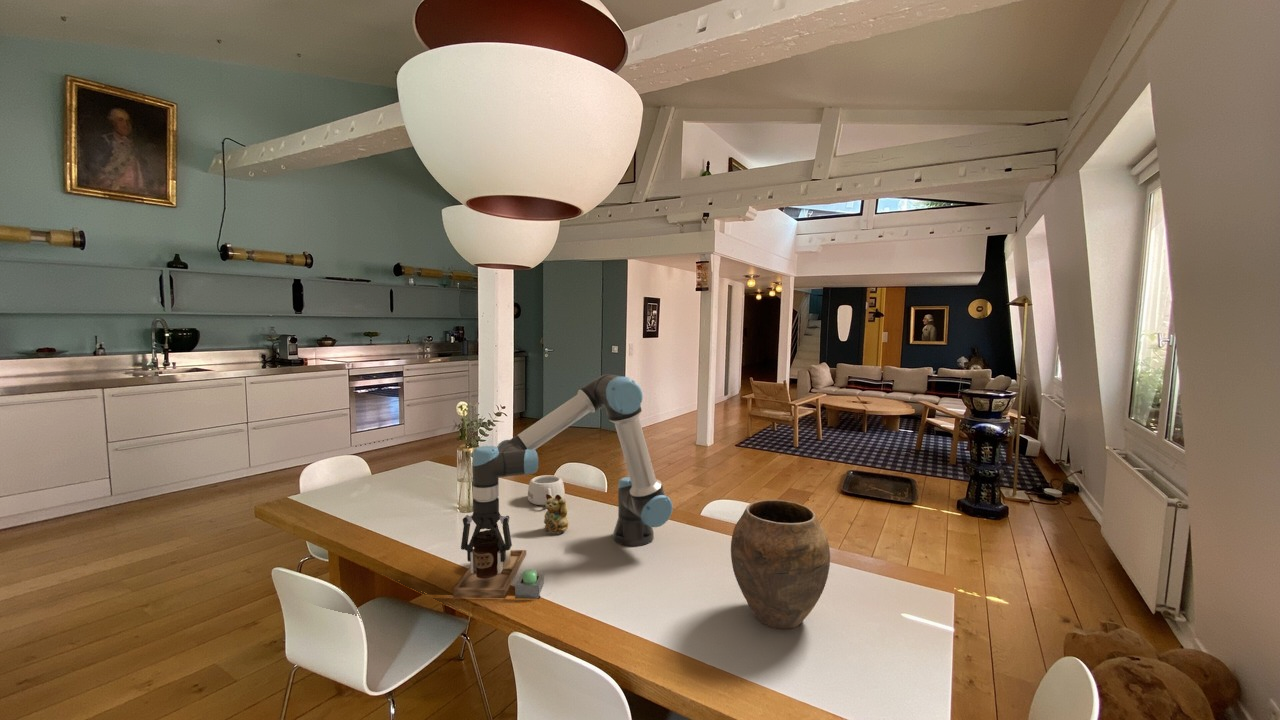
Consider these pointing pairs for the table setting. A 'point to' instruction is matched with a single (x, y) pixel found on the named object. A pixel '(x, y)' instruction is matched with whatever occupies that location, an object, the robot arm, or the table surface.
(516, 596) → the button housing
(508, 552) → the seated billet
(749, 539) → the vase
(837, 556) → the table surface
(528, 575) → the button
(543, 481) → the mug
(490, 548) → the coffee cup
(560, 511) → the decorative figurine
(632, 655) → the table surface
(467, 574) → the wooden tray
